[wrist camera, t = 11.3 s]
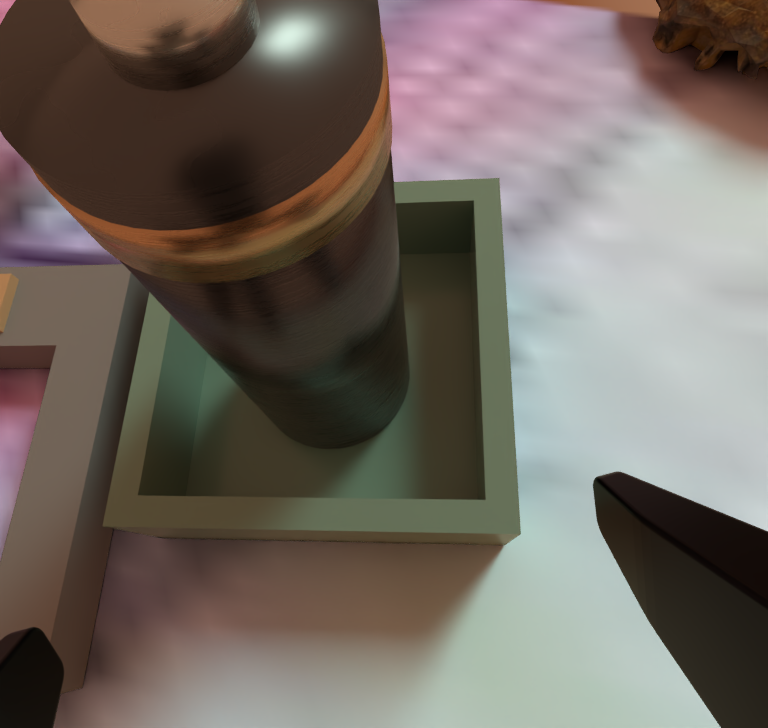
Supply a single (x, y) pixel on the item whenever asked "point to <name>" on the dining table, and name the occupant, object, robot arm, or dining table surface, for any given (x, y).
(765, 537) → the robot arm
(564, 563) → the dining table surface
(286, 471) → the cup
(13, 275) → the tester cradle
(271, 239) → the battery cell
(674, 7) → the decorative rock
